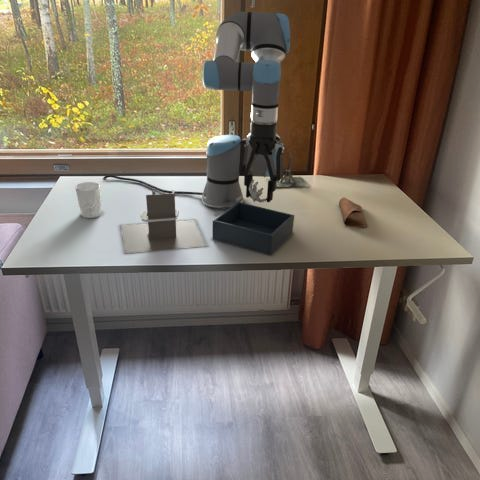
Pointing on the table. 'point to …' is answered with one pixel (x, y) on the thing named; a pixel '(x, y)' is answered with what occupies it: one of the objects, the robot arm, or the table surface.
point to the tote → (253, 227)
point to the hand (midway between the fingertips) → (259, 198)
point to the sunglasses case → (352, 213)
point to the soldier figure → (255, 192)
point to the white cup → (89, 199)
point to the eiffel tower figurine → (290, 178)
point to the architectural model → (161, 228)
